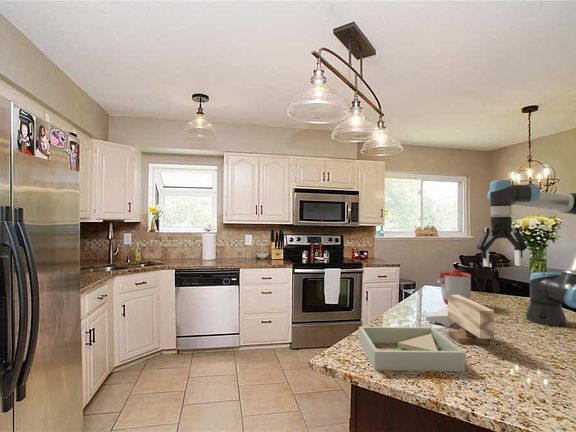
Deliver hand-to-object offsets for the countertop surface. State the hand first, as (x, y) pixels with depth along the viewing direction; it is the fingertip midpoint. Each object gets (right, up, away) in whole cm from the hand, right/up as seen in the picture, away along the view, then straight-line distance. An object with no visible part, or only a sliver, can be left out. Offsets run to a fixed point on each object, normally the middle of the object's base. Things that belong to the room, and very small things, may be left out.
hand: (502, 266), depth 136 cm
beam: (-20, -23, -9) cm, 32 cm away
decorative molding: (-15, -28, +24) cm, 40 cm away
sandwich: (-42, -28, -23) cm, 56 cm away
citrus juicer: (+3, -29, +45) cm, 54 cm away
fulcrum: (-20, -28, -9) cm, 35 cm away
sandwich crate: (-50, -28, -24) cm, 62 cm away
